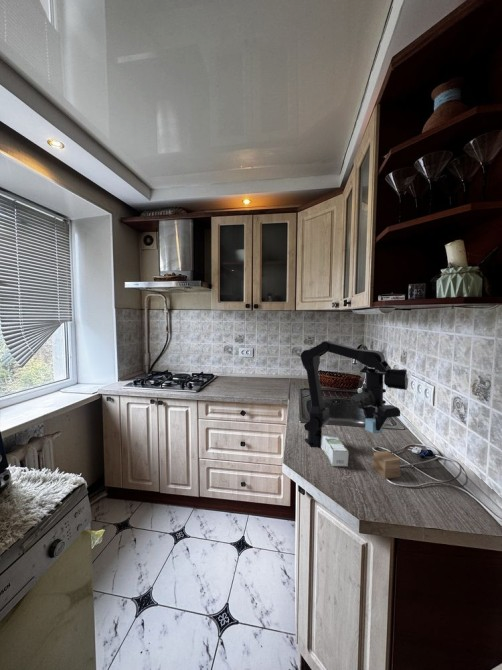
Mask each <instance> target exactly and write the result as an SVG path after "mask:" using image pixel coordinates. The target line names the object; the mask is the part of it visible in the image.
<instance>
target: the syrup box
mask: <svg viewBox="0 0 502 670" xmlns="http://www.w3.org/2000/svg"><path fill="white" fill-rule="evenodd" d="M320 448H321V449H322V451H323V453H324V455H325V456H326V458H327V460H328V462H329V463H330V465H331V467H348V466H349V450H348V448H347V447H346V446H345V445H344V443H343V442H342V441H341V440H340V438H339V437H338V436H337V434H336V433H322V434H321V446H320Z"/></svg>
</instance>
